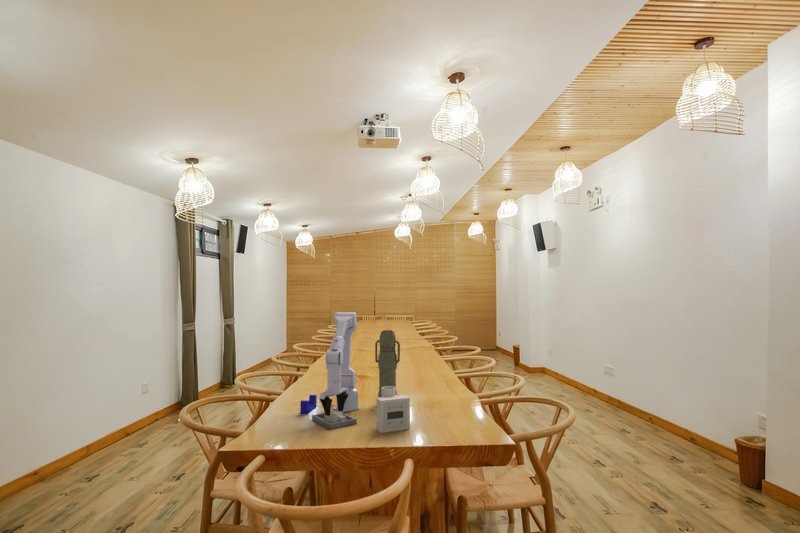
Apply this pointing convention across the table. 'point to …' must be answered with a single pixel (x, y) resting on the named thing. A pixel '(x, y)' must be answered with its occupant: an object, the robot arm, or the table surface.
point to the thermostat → (392, 411)
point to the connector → (335, 416)
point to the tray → (331, 425)
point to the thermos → (387, 360)
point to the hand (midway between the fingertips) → (334, 413)
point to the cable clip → (308, 404)
